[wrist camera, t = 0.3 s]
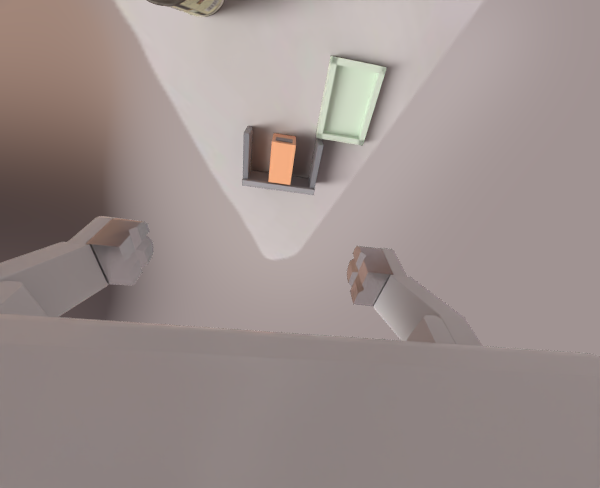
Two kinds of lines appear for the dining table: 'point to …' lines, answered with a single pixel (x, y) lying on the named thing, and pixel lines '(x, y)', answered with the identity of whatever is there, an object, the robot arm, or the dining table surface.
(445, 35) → the dining table surface
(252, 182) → the bay
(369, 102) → the tray
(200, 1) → the coffee can
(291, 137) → the orange block
